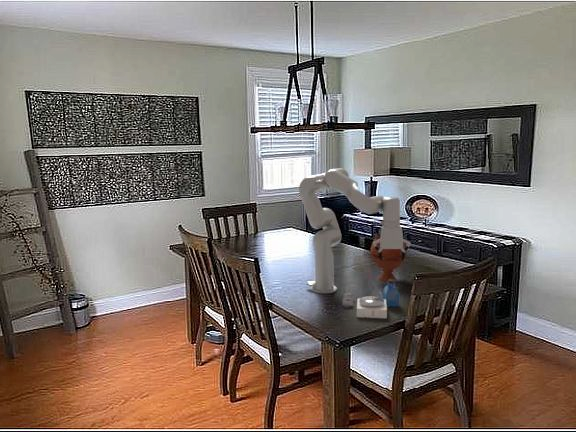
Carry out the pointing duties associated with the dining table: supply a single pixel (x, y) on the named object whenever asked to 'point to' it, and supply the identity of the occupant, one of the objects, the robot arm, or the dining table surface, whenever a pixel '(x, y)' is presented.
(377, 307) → the scale
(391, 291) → the perfume bottle
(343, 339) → the dining table surface
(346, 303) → the spacer
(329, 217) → the robot arm
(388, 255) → the goblet
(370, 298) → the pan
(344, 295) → the ring
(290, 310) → the dining table surface
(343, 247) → the dining table surface
